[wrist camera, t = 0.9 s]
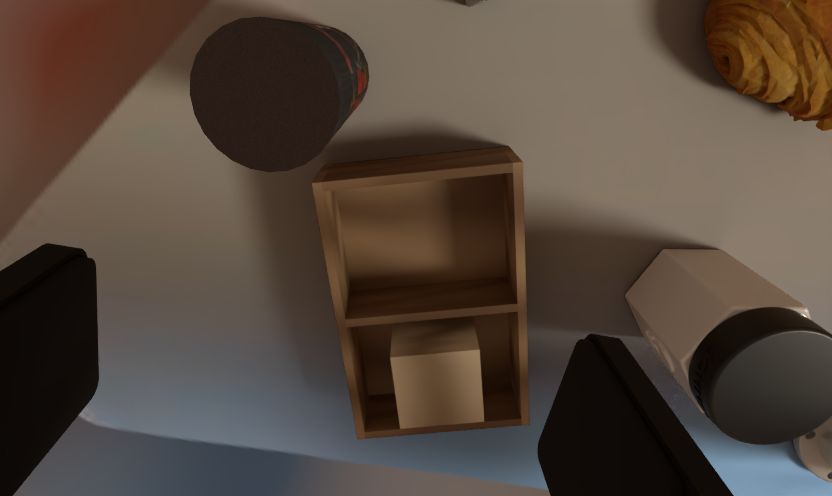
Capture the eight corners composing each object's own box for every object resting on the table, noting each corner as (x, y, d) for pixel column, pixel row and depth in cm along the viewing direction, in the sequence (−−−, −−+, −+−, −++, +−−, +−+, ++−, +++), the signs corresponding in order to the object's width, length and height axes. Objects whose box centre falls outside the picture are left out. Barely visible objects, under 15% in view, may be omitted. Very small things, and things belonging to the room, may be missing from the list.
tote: (324, 165, 37) (311, 183, 32) (508, 146, 37) (522, 161, 32) (363, 397, 44) (357, 439, 40) (517, 383, 44) (529, 424, 39)
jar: (610, 272, 40) (686, 361, 29) (714, 223, 39) (835, 298, 28) (650, 359, 43) (732, 470, 32) (747, 316, 42) (869, 417, 31)
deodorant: (294, 128, 36) (220, 184, 22) (267, 37, 34) (166, 36, 20) (378, 110, 36) (356, 155, 22) (356, 16, 33) (316, 0, 20)
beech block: (470, 306, 41) (479, 349, 35) (474, 371, 43) (484, 421, 37) (393, 313, 41) (390, 357, 35) (401, 378, 43) (400, 428, 37)
